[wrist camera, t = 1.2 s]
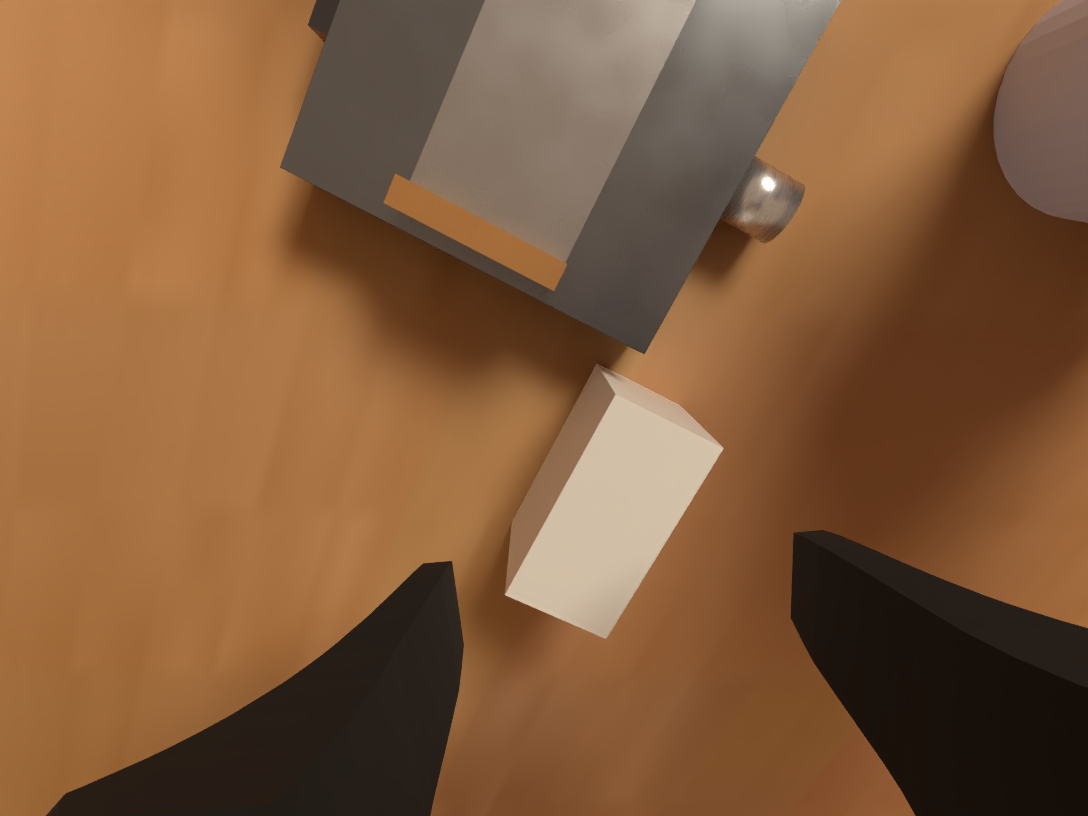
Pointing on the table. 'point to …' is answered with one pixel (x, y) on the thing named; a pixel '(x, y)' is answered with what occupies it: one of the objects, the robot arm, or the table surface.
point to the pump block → (605, 501)
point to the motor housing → (560, 135)
